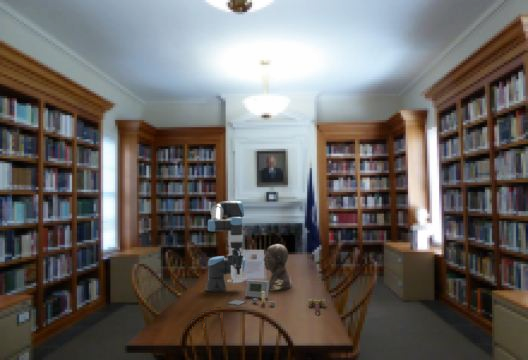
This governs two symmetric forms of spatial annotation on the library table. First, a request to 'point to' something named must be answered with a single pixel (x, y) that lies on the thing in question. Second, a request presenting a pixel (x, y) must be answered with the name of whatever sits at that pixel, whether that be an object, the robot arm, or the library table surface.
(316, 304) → the gavel
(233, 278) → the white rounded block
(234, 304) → the pad
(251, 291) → the digital clock
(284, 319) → the library table surface
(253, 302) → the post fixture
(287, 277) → the portrait bust
